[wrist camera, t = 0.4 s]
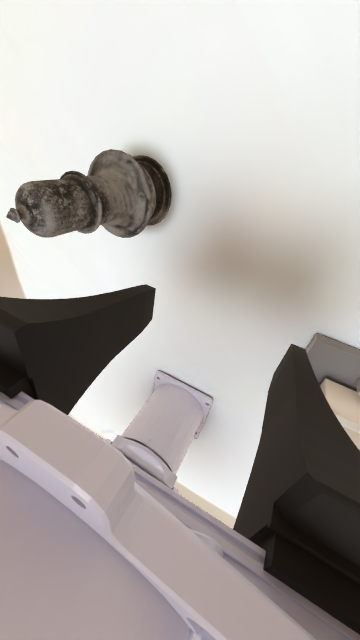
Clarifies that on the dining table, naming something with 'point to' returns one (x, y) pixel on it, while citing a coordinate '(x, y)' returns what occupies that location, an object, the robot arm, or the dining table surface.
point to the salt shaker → (96, 198)
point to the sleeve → (344, 407)
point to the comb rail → (335, 362)
